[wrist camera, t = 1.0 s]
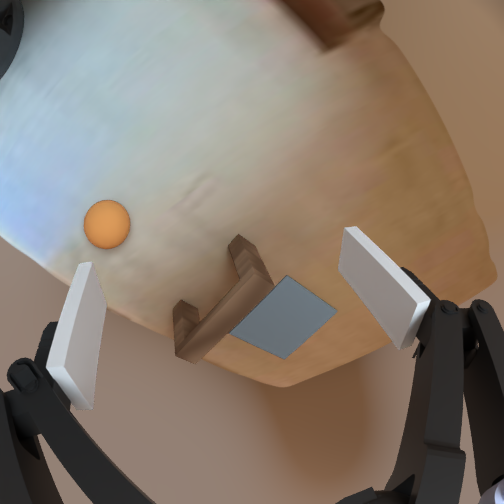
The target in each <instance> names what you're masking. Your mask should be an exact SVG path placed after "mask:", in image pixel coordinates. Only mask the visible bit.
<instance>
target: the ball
mask: <svg viewBox="0 0 504 504" xmlns="http://www.w3.org/2000/svg"><path fill="white" fill-rule="evenodd" d="M129 229H130V219H129V215H128V213H127V211H126V210H125V208H124V207H123V206H122V205H121V204H119V203H117V202H115V201H112V200H103V201H100V202H97V203H96V204H94V205H93V206H92V207H91V208H90V209H89V210H88V212H87V214H86V216H85V219H84V231H85V234H86V236H87V238H88V240H89V241H90V242H91V243H92V244H93V245H95V246H97V247H99V248H103V249H110V248H114V247H116V246H118V245H120V244H121V243H122V242H123V241H124V240H125V239H126V237H127V235H128V233H129Z"/></svg>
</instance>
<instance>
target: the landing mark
mask: <svg viewBox="0 0 504 504" xmlns="http://www.w3.org/2000/svg"><path fill="white" fill-rule="evenodd" d="M336 312H337V310H336V309H334V308H333V307H331V306H330V305H329V304H327V303H326V302H324V301H323V300H321V299H320V298H319V297H317V296H316V295H314V294H313V293H312V292H310V291H309V290H307V289H306V288H304V287H303V286H302V285H300V284H299V283H297V282H296V281H295V280H293V279H292V278H290V277H289V276H287V275H286V276H285V277H284V278H283V279H282V280H281V281H280V282H279V283H278V284H277V285H276V286H275V288H274V289H273V290H272V291H271V292H270V293H269V294H268V295H267V296H266V297H265V298H264V299H263V300H262V301H261V302H260V303H259V304H258V305H257V306H256V307H255V308H254V309H253V310H252V311H251V312H250V313H249V314H248V315H247V316H246V317H245V318H243V319H242V320H241V321H240V322H239V323H238V324H237V325H236V326H235V327H234V328H233V329H232V330H231V331H230V332H229V334H231V335H233V336H235V337H237V338H240V339H242V340H244V341H246V342H248V343H250V344H252V345H254V346H256V347H258V348H261V349H263V350H265V351H267V352H269V353H271V354H274V355H276V356H278V357H280V358H283V359H286V358H287V357H288V356H289V355H290V354H291V353H292V352H294V351H295V350H296V349H297V348H298V347H299V346H300V345H302V344H303V343H304V342H305V341H306V340H307V339H308V338H309V337H311V336H312V335H313V334H314V333H315V332H316V331H317V330H318V329H319V328H320V327H321V326H323V325H324V324H325V323H326V322H327V321H328V320H329V319H330V318H331V317H332V316H333V315H334V314H335V313H336Z"/></svg>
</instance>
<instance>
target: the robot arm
mask: <svg viewBox="0 0 504 504" xmlns="http://www.w3.org/2000/svg"><path fill="white" fill-rule="evenodd" d="M23 24H24V13H23V7H22V4H21V2H20V0H0V78H1V77H2V76H3V74H4V73H5V72H6V70H7V69H8V67H9V65H10V64H11V62H12V60H13V58H14V56H15V54H16V51H17V49H18V46H19V43H20V40H21V36H22V32H23ZM338 271H339V272H340V273H341V274H342V276H343V277H344V278H345V280H346V281H347V282H348V283H349V285H350V286H351V287H352V288H353V290H354V291H355V292H356V294H357V295H358V296H359V298H360V299H361V300H362V301H363V303H364V304H365V305H366V307H367V308H368V309H369V311H370V312H371V313H372V315H373V316H374V317H375V319H376V320H377V321H378V323H379V324H380V325H381V327H382V328H383V329H384V331H385V332H386V333H387V335H388V336H389V337H390V339H391V340H392V342H393V343H394V344H395V346H396V347H397V348H398V350H401V349H404V348H407V347H409V346H411V345H412V343H413V341H414V339H415V337H417V338H418V339H419V341H420V342H419V344H418V347H417V349H416V351H415V353H414V355H413V357H412V358H415V356H416V355H417V356H416V364H415V372H414V378H413V385H412V391H411V397H410V402H409V408H408V414H407V418H406V423H405V428H404V432H403V436H402V441H401V445H400V449H399V453H398V457H397V461H396V465H395V468H394V471H393V473H392V475H391V477H390V479H389V481H388V482H387V484H386V487H385V489H384V490H381V491H374V490H373V488H372V487H370V488H368V489H366V490H363V491H361V492H358V493H356V494H353V495H351V496H348V497H345V498H344V499H342V500H340V501H339V502H337V503H336V504H458V503H459V498H460V493H461V488H462V482H463V476H464V469H465V462H466V454H465V452H464V451H463V450H460V436H461V426H462V412H463V392H464V397H465V402H466V407H467V412H468V418H469V424H470V430H471V436H472V443H473V451H474V458H475V469H476V477H477V484H478V488H479V492H480V496H481V499H480V501H479V503H478V504H504V331H503V329H502V327H501V325H500V322H499V320H498V318H497V316H496V314H495V312H494V309H493V308H492V306H491V305H490V304H489V303H488V302H486V301H484V300H480V299H478V300H474V301H473V302H472V304H471V306H470V308H459V307H458V306H457V305H456V304H454V303H453V302H451V301H448V300H441V301H440V300H439V299H438V298H437V297H436V296H435V295H434V294H433V293H432V292H431V291H430V290H429V289H428V288H427V287H426V286H425V285H424V284H423V283H422V282H421V281H420V280H418V278H417V277H416V276H415V275H414V274H413V273H412V272H411V271H409V270H407V269H406V268H404V267H401V268H399V267H398V266H397V265H396V264H395V263H394V262H393V261H392V260H391V259H390V258H389V257H388V256H387V255H386V254H385V253H384V252H383V251H382V250H381V249H380V248H379V247H378V246H377V245H376V244H374V243H373V242H372V241H371V240H370V239H369V238H368V237H367V236H366V235H365V234H364V233H363V232H362V231H361V230H359V229H358V228H357V227H356V226H355V227H346V228H344V232H343V239H342V246H341V253H340V260H339V266H338ZM106 308H107V303H106V300H105V297H104V294H103V291H102V288H101V285H100V283H99V280H98V276H97V273H96V270H95V267H94V264H93V261H92V262H85V263H79V265H78V268H77V270H76V273H75V276H74V278H73V281H72V284H71V286H70V289H69V292H68V295H67V298H66V301H65V303H64V307H63V309H62V313H61V316H60V319H59V321H58V322H50V323H49V324H48V325H47V327H46V328H45V330H44V331H43V334H42V337H41V341H40V343H39V346H38V347H39V349H37V353H36V356H35V359H34V362H33V361H32V360H31V359H29V358H20V359H18V360H16V361H15V362H14V363H13V364H11V366H10V367H9V369H8V372H7V379H8V381H9V382H10V384H11V385H12V386H13V388H14V390H11V391H8V392H5V393H4V392H3V391H2V390H1V389H0V504H64V503H63V501H62V499H61V497H60V495H59V492H58V490H57V488H56V485H55V483H54V481H53V478H52V476H51V473H50V471H49V468H48V466H47V463H46V460H45V457H44V454H43V452H42V449H41V446H40V443H39V440H38V436H37V435H38V434H42V435H43V437H44V438H45V440H46V442H47V443H48V445H49V446H50V448H51V449H52V450H53V452H54V454H55V455H56V456H57V458H58V459H59V461H60V462H61V463H62V465H63V466H64V468H65V469H66V470H67V472H68V473H69V474H70V475H71V477H72V478H73V479H74V480H75V482H76V483H77V484H78V486H79V487H80V488H81V490H82V491H83V492H84V493H85V494H86V496H87V497H88V498H89V499H90V500H91V501H92V503H93V504H156V503H155V502H154V501H152V500H151V499H150V498H149V497H148V496H147V495H146V494H145V493H144V492H143V491H142V490H140V489H139V488H138V487H137V486H136V485H135V484H134V483H133V482H132V481H131V480H130V479H129V478H128V477H127V476H126V475H125V474H124V473H123V472H122V471H121V470H120V469H119V468H118V467H117V466H116V465H115V464H114V463H113V462H112V461H111V459H110V458H109V457H108V456H107V455H106V454H105V453H104V452H103V451H102V449H101V448H100V447H99V446H98V445H97V444H96V443H95V441H94V440H93V439H92V438H91V437H90V436H89V434H88V433H87V432H86V431H85V429H84V428H83V427H82V426H81V425H80V423H79V422H78V421H77V419H76V418H75V417H74V416H73V414H72V413H71V412H70V405H71V403H72V405H73V406H74V407H75V408H76V410H93V404H94V393H95V383H96V375H97V366H98V359H99V351H100V344H101V337H102V331H103V325H104V319H105V314H106ZM478 343H479V347H478V345H477V344H478Z"/></svg>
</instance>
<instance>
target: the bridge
mask: <svg viewBox="0 0 504 504" xmlns="http://www.w3.org/2000/svg"><path fill="white" fill-rule="evenodd" d="M228 246H229V249H230V252H231V255H232V258H233V261H234V264H235V267H236V270H237V273H238V276H239V279H240V281H239V282H238V283H237V284H236V285H235V286H234V287H233V288H232V289H231V290H230V291H229V292H228V293H227V294H226V295H225V297H224V298H223V299H222V300H221V301H220V302H219V303H218V304H217V305H216V306H215V307H214V308H213V309H212V310H211V311H210V312H209V313H208V315H207V316H206V317H205V318H204V319H203V320H202V321H201V322H200V321H199V314H198V309H197V308H196V307H194V306H192V305H190V304H188V303H186V302H185V301H183V300H180V301H179V302H178V303H177V304H176V306H175V307H174V308H173V322H174V342H175V355H176V356H177V357H179V358H182V359H184V360H186V361H189V362H191V363H193V364H196V363H197V362H198V361H199V360H200V359H201V358H202V357H203V356H205V355H206V354H207V353H208V352H209V351H210V350H211V349H212V348H213V347H214V346H215V345H216V344H217V343H218V342H219V341H220V340H221V339H222V338H223V337H224V336H225V335H226V334H227V333H228V332H229V331H230V330H231V329H232V328H233V327H234V326H235V325H236V324H238V323H239V322H240V321H241V320H242V319H243V318H244V317H245V316H246V315H247V314H248V313H249V312H250V311H251V310H252V309H253V308H254V307H255V306H256V305H257V304H258V303H259V302H260V301H261V300H262V299H263V298H264V297H265V296H266V295H267V294H268V293H269V292H270V291H271V290H272V289H273V288H274V287H275V286H274V284H273V282H272V279H271V277H270V275H269V273H268V271H267V269H266V267H265V265H264V263H263V261H262V259H261V257H260V255H259V253H258V251H257V249H256V247H255V246H254V245H253V244H252V243H250V242H249V241H247V240H246V239H245V238H243V237H242V236H240V235H239V234H238V235H237V236H236V237H235V238H234V239H233V241H232V242H231V243H230V244H229V245H228Z"/></svg>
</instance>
